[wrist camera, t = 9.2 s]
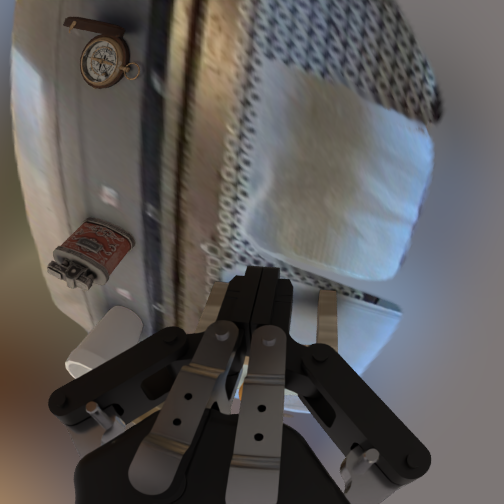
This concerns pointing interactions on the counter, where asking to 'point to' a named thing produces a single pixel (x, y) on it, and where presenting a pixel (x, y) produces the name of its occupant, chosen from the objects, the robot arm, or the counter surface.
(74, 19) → the compass
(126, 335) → the foam cup
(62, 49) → the counter surface
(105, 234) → the lighter
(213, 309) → the bridge
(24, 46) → the counter surface
